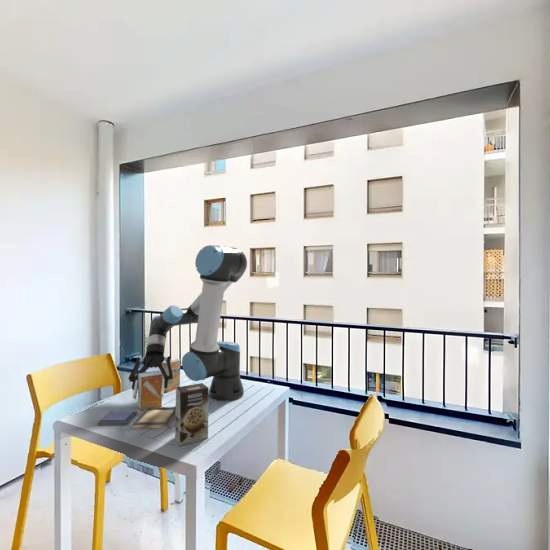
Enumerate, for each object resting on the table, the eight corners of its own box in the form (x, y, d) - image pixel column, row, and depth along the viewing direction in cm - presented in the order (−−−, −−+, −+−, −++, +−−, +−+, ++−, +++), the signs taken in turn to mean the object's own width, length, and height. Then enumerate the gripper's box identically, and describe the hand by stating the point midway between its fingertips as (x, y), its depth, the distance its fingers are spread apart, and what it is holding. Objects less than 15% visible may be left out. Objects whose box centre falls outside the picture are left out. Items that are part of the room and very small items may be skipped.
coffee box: (180, 446, 96) (180, 392, 96) (174, 437, 101) (175, 386, 101) (209, 438, 100) (209, 387, 101) (202, 430, 106) (202, 382, 106)
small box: (140, 411, 121) (140, 377, 122) (137, 405, 127) (137, 373, 127) (162, 406, 126) (162, 373, 126) (158, 401, 131) (158, 369, 131)
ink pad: (137, 414, 119) (137, 410, 119) (126, 424, 110) (126, 420, 110) (110, 414, 119) (110, 410, 119) (97, 425, 110) (97, 420, 110)
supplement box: (167, 392, 142) (167, 363, 142) (159, 391, 144) (159, 362, 144) (180, 387, 149) (180, 359, 149) (172, 385, 151) (173, 358, 151)
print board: (178, 410, 122) (179, 406, 122) (167, 427, 108) (167, 423, 108) (147, 411, 121) (147, 406, 121) (131, 428, 107) (131, 423, 107)
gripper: (182, 351, 144) (178, 398, 128) (130, 353, 140) (119, 402, 124) (181, 341, 139) (177, 390, 123) (127, 343, 134) (115, 394, 119)
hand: (148, 396), depth 123 cm, fingers closed on small box, 10 cm apart
